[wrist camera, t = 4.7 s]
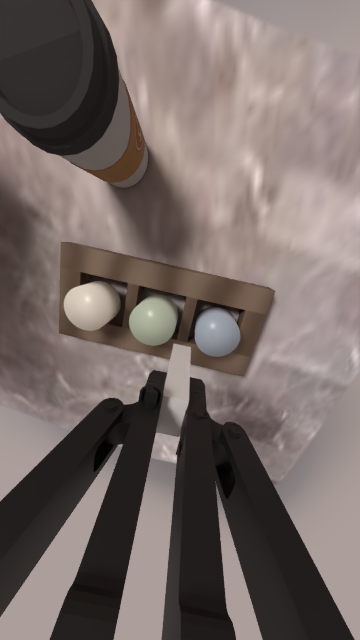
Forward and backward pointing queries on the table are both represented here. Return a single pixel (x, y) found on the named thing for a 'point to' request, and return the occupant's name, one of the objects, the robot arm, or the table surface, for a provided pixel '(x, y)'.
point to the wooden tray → (169, 279)
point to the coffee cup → (69, 88)
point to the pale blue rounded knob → (216, 332)
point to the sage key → (154, 320)
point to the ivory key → (92, 305)
